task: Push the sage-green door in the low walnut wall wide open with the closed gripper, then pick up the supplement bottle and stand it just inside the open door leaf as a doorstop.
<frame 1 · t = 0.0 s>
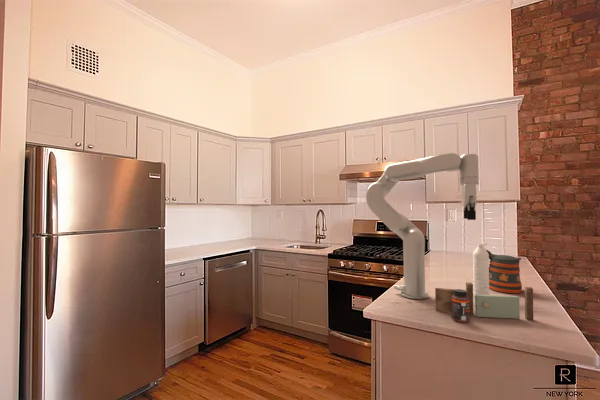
hand: (469, 219, 142), 37 cm above the counter, tool pointing down, fingers open, 9 cm apart
beer stein: (499, 289, 159), on the counter
wall frame: (485, 315, 123), on the counter
door leaf: (497, 306, 120), point 4 cm above the counter, hinge at 10.0°
supplement bottle: (460, 321, 118), on the counter
water bottle: (482, 297, 147), on the counter
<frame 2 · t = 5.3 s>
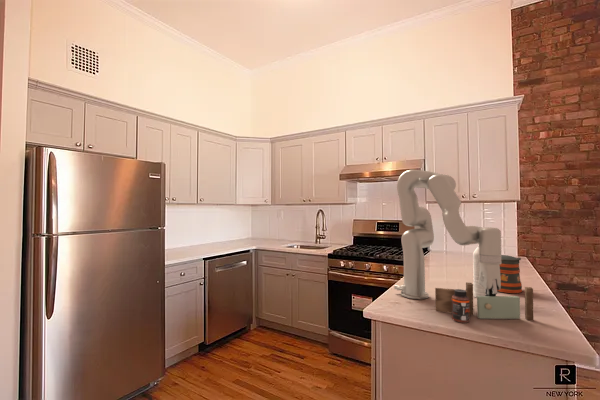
hand: (490, 305, 123), 4 cm above the counter, tool pointing down, fingers closed
door leaf: (499, 307, 118), point 4 cm above the counter, hinge at 16.9°, touching gripper
everything else where it was.
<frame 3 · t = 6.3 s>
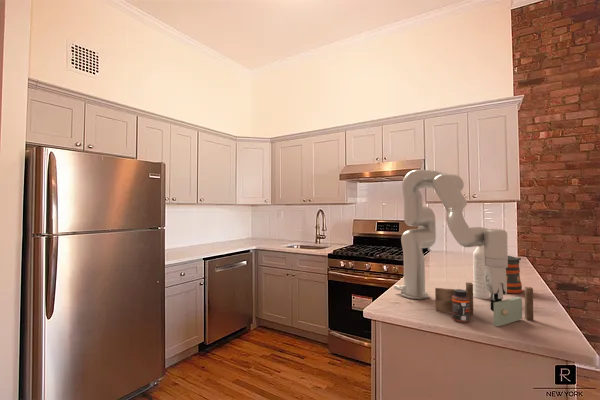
hand: (496, 310, 117), 4 cm above the counter, tool pointing down, fingers closed
door leaf: (509, 311, 114), point 4 cm above the counter, hinge at 46.4°, touching gripper
everything else where it was.
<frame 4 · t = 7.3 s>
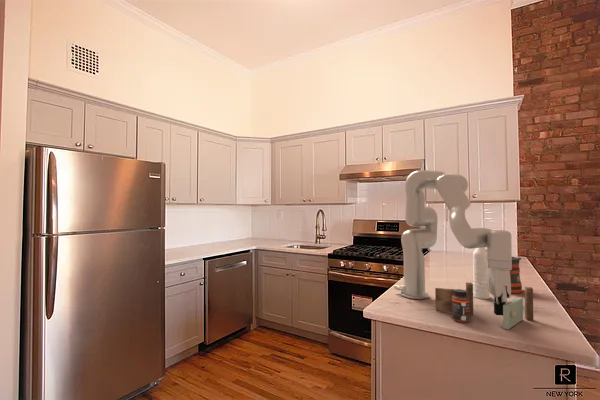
hand: (499, 314, 114), 4 cm above the counter, tool pointing down, fingers closed
door leaf: (515, 312, 113), point 4 cm above the counter, hinge at 57.9°, touching gripper
everything else where it was.
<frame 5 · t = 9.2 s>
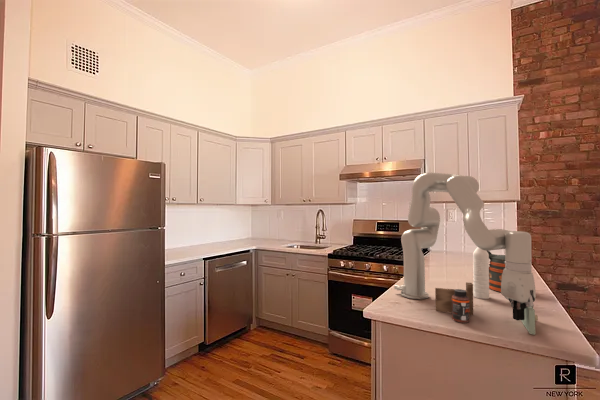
hand: (518, 319, 109), 3 cm above the counter, tool pointing down, fingers closed
door leaf: (528, 315, 111), point 4 cm above the counter, hinge at 84.9°, touching gripper
everything else where it was.
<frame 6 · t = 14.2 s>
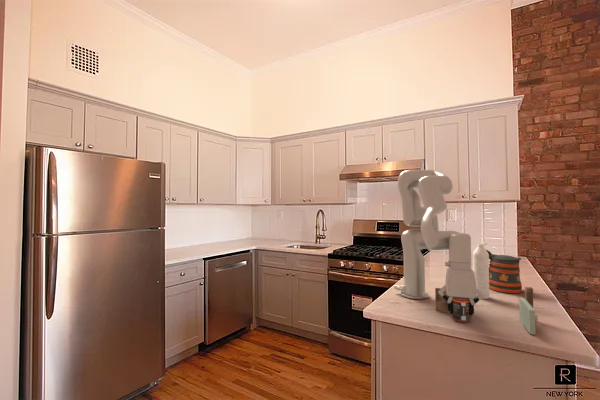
hand: (460, 313, 118), 3 cm above the counter, tool pointing down, fingers closed on supplement bottle, 6 cm apart
door leaf: (528, 315, 111), point 4 cm above the counter, hinge at 84.9°
supplement bottle: (460, 321, 117), on the counter, touching gripper
everything else where it was.
when the fingers open (4 cm above the counter, at t = 19.8 s): supplement bottle drops 2 cm, on the counter.
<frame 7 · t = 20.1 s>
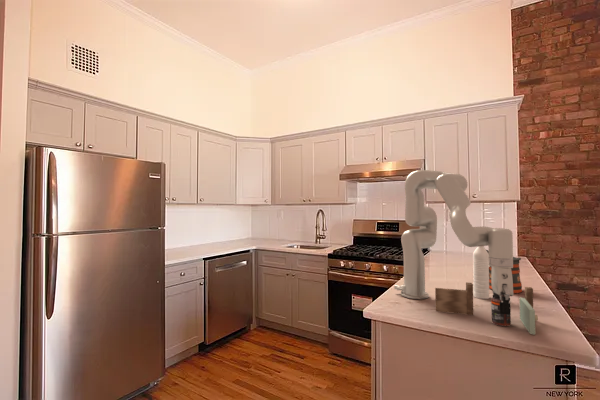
hand: (501, 309, 114), 5 cm above the counter, tool pointing down, fingers open, 9 cm apart
supplement bottle: (501, 324, 114), on the counter
everything else where it was.
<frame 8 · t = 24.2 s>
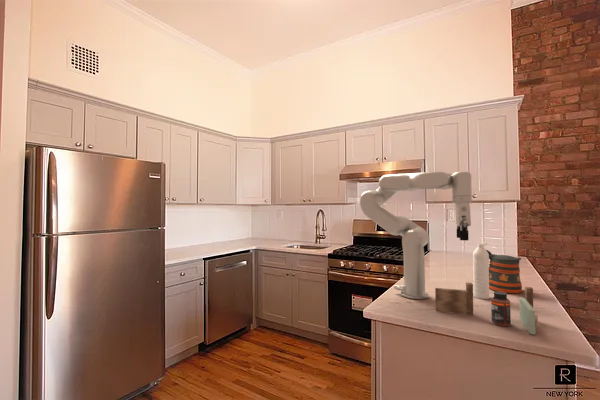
hand: (462, 239, 137), 28 cm above the counter, tool pointing down, fingers open, 9 cm apart
nothing on the counter moved.
at the end: door leaf at +85° (first picture: +10°); supplement bottle inside the target area (0.1 cm from its centre), on the counter; supplement bottle tilted 0° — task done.
